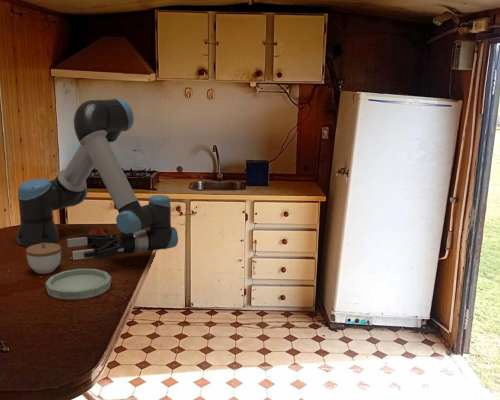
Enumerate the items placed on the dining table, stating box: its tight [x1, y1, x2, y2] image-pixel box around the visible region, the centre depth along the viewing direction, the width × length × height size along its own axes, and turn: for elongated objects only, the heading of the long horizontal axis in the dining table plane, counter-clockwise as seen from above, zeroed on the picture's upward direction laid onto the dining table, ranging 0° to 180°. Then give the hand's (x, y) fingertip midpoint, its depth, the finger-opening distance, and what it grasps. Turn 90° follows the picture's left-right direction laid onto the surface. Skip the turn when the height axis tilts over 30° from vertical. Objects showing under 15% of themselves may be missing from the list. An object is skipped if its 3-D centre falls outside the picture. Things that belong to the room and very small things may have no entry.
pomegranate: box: [85, 228, 109, 248], centre depth 198 cm, size 7×7×10 cm
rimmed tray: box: [45, 268, 112, 301], centre depth 160 cm, size 18×18×2 cm
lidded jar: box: [25, 243, 62, 275], centre depth 173 cm, size 11×11×9 cm
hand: (70, 249), depth 175 cm, fingers open, 13 cm apart
